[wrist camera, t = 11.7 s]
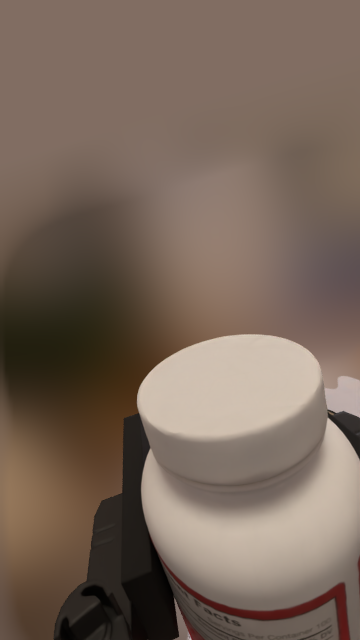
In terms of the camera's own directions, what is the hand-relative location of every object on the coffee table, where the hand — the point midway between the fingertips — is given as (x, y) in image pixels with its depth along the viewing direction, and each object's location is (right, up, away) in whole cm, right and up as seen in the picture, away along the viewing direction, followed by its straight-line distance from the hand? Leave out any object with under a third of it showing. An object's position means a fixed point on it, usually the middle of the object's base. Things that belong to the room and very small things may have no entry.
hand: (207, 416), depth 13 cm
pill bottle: (+2, -7, -3) cm, 8 cm away
